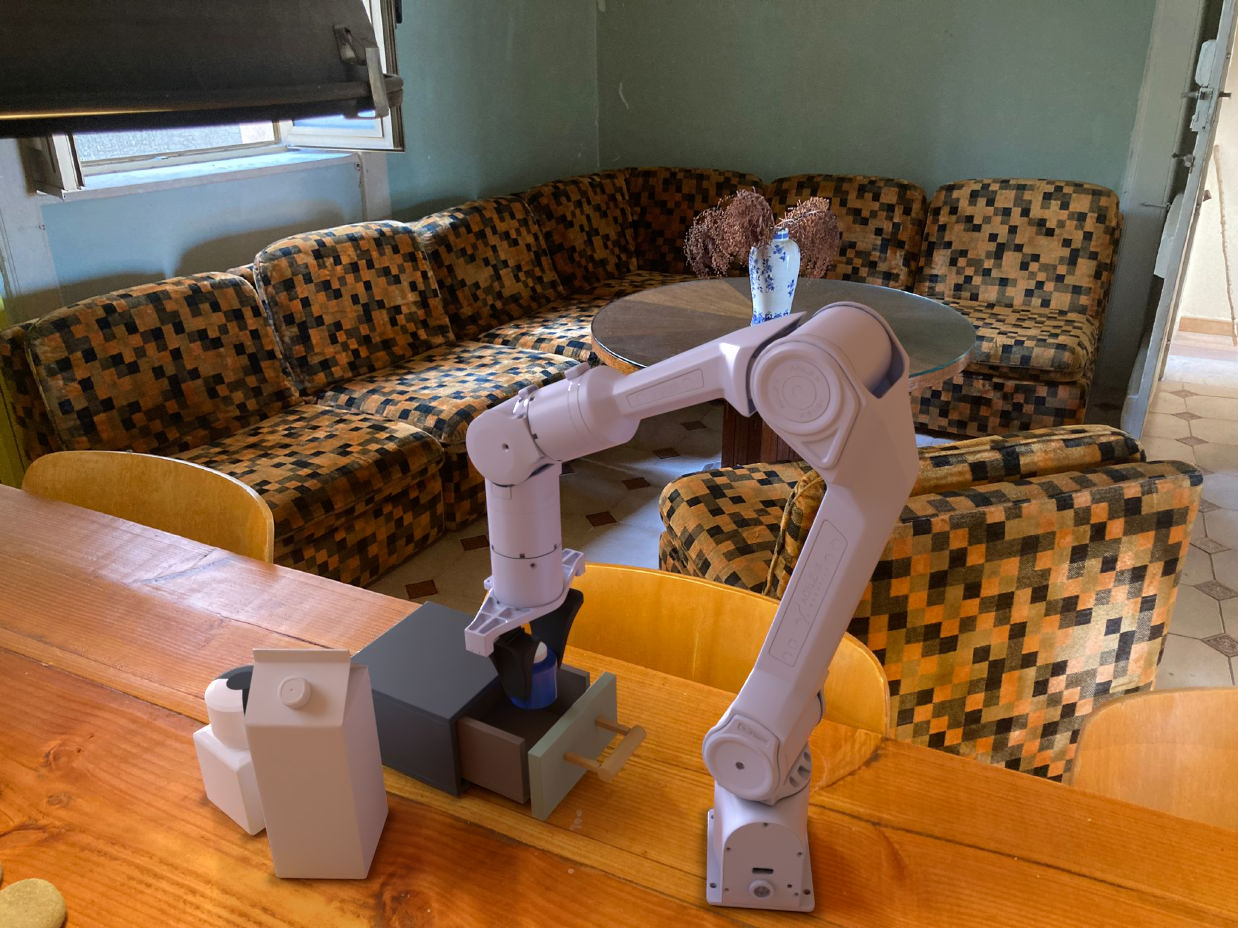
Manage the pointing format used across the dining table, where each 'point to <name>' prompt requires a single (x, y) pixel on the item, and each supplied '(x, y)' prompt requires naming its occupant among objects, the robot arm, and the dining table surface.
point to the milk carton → (316, 761)
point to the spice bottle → (542, 680)
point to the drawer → (544, 740)
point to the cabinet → (425, 692)
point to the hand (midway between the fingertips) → (533, 680)
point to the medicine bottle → (229, 750)
